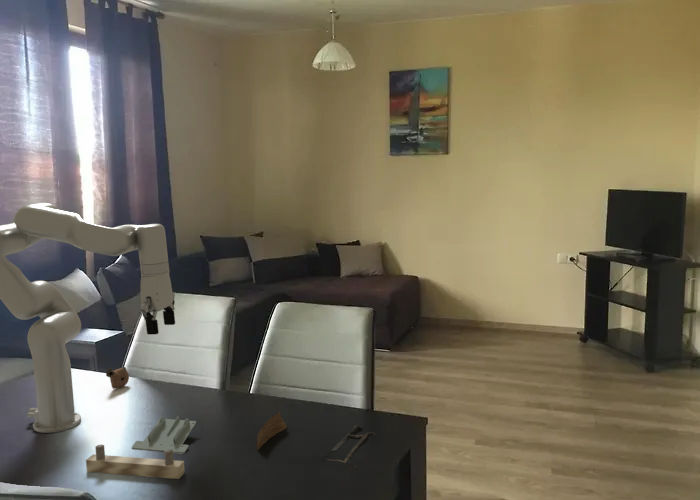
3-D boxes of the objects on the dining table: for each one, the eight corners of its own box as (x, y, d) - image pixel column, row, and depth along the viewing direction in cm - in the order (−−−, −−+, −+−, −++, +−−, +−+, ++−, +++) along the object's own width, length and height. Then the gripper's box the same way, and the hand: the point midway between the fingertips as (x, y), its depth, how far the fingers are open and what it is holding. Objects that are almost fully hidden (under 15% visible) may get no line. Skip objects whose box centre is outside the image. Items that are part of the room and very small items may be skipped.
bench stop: (86, 471, 155) (85, 448, 154) (93, 465, 158) (92, 442, 157) (179, 478, 151) (177, 455, 150) (184, 472, 154) (183, 449, 153)
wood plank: (262, 451, 164) (261, 433, 164) (255, 450, 165) (254, 432, 164) (286, 427, 179) (286, 410, 178) (280, 426, 180) (279, 409, 179)
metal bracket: (153, 410, 178) (203, 414, 175) (157, 427, 180) (206, 431, 177) (127, 446, 165) (180, 450, 162) (132, 463, 168) (185, 468, 165)
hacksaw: (355, 428, 179) (355, 423, 178) (389, 430, 174) (389, 425, 174) (315, 469, 157) (314, 464, 157) (353, 473, 153) (352, 468, 152)
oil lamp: (111, 394, 207) (109, 370, 205) (102, 392, 208) (100, 368, 207) (132, 385, 214) (130, 362, 213) (123, 383, 216) (121, 360, 215)
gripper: (157, 264, 185) (164, 321, 188) (125, 275, 168) (133, 338, 171) (181, 263, 184) (187, 321, 186) (151, 274, 167) (158, 338, 169)
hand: (161, 329), depth 178 cm, fingers open, 9 cm apart
